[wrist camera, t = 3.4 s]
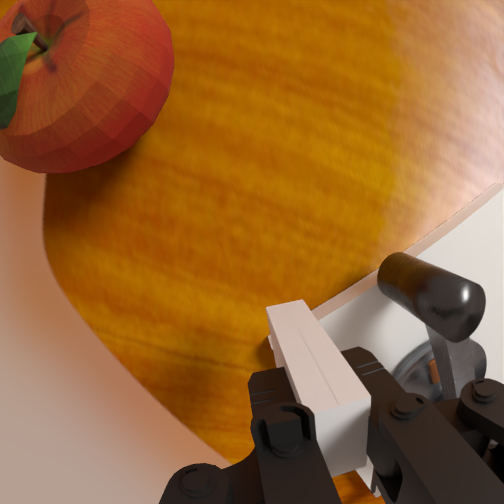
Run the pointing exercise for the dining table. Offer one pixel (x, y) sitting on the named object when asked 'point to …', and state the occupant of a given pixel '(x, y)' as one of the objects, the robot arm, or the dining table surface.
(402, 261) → the lever handle
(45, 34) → the fruit
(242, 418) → the dining table surface
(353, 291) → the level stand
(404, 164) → the dining table surface
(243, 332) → the dining table surface
